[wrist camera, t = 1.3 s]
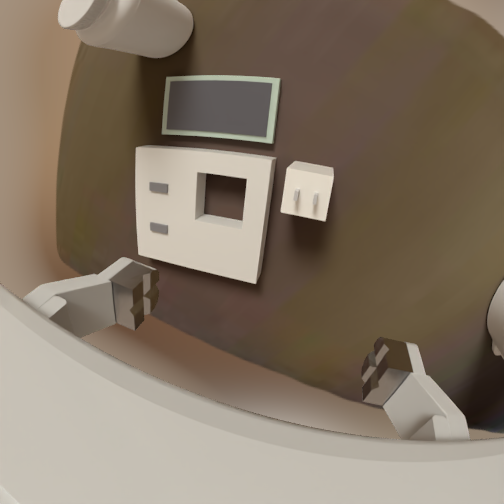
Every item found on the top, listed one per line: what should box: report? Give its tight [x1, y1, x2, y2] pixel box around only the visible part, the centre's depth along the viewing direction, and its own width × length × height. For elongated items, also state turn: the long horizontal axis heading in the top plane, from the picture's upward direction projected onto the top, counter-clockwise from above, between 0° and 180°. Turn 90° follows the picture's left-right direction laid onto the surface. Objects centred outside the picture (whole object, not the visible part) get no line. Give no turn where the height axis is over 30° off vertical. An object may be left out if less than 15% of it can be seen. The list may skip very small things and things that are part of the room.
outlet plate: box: [136, 145, 276, 284], centre depth 32 cm, size 16×14×3 cm
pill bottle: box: [58, 0, 193, 58], centre depth 19 cm, size 8×8×15 cm
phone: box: [162, 75, 281, 144], centre depth 28 cm, size 13×7×2 cm, turn 83°
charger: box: [281, 161, 334, 221], centre depth 26 cm, size 4×4×7 cm
